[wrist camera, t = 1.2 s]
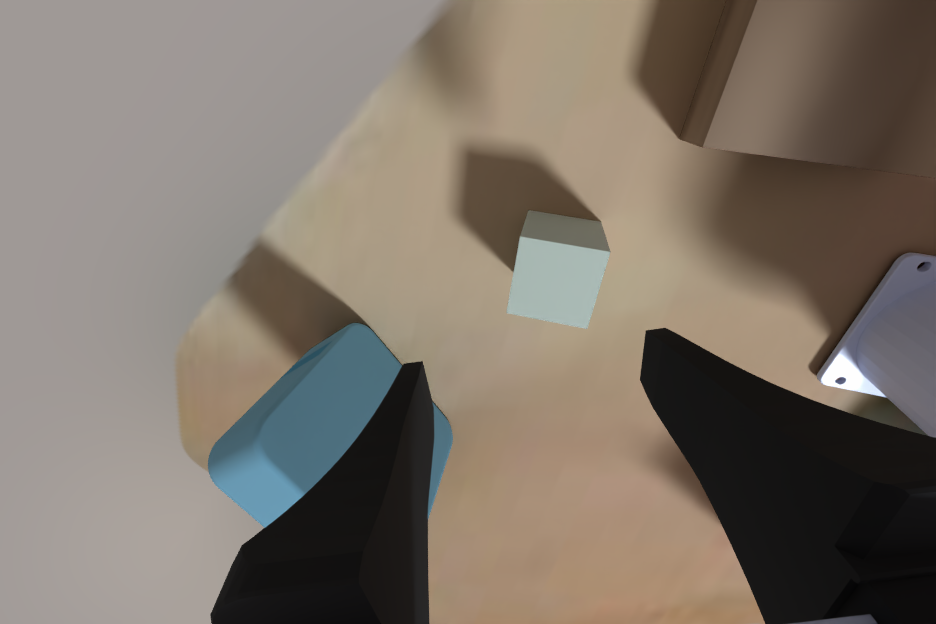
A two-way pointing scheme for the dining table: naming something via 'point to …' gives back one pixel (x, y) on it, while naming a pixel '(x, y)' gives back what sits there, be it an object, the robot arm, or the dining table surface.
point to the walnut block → (822, 83)
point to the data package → (311, 425)
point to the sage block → (558, 268)
